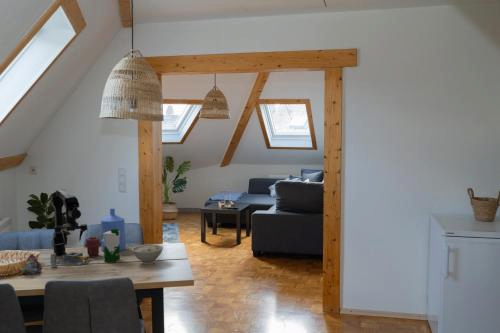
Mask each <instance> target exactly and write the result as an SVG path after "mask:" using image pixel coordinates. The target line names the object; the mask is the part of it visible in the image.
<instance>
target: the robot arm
mask: <svg viewBox="0 0 500 333" xmlns="http://www.w3.org/2000/svg"><path fill="white" fill-rule="evenodd" d="M49 201H50V203H51V204H50V205H51V206H52V207H53V209H54V210H53V212H54V223H55V224H54V232H53V234H52V238H51V242H50V244H51V246H52V247H53V253H56V257H57V256H58V257H59V256H63V255H65V254H67V252H66V246H67V245H68V236H67V233H66V232H69V231H76V230H79V237H78V238H79V242H81V239H82V236H83V233H84V232H86V231H87V230H88V224H87V223H83V224H82V223H80V225H79V222H78V221H77V220H78V219H79V218H81V216H82V212H81V211H80V209H79V208H80V203H79V200H78V198H77V197H76V196H75V195H70V194H69V193H68V192H66V190H65V189H56V190H55V191H54V192H53V193H52V194H51V195H50V198H49ZM63 207H64V209H65V226H63V225H64V222H63ZM65 231H66V232H65Z"/></svg>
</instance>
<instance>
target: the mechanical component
mask: <svg viewBox="0 0 500 333" xmlns="http://www.w3.org/2000/svg"><path fill="white" fill-rule="evenodd" d="M84 247H85V248H87V256H88V258H92V257H99V253H100V247H102V242H100V237H96V236H90V237H87V238H86V239H85V244H84Z"/></svg>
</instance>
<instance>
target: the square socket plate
mask: <svg viewBox="0 0 500 333" xmlns="http://www.w3.org/2000/svg"><path fill="white" fill-rule="evenodd" d="M62 257H63V258H61V259H59V260H56V263H57V265H69V266H82V265H85V264H88V263H89V262H91V261H93V260H92V258H90V257H89V255H87V256H85V255H84V254H83V252H76V251H70V252H67V253H66V254H64V255H62Z"/></svg>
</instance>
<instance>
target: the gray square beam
mask: <svg viewBox="0 0 500 333" xmlns="http://www.w3.org/2000/svg"><path fill="white" fill-rule="evenodd" d="M56 261H57V255H56V253H54V252H51V253H50V268H56V267H57V265H58V264H57V263H56Z"/></svg>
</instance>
